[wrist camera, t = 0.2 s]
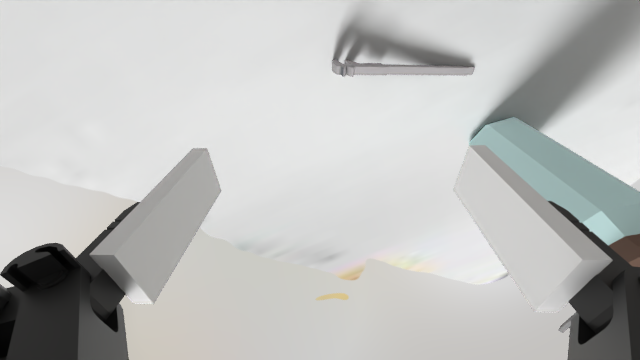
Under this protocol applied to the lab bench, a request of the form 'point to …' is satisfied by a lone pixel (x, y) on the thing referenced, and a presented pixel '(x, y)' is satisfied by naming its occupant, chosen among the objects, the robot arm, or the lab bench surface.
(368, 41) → the lab bench surface
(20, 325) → the robot arm
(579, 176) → the water bottle
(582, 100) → the lab bench surface
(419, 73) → the caliper
